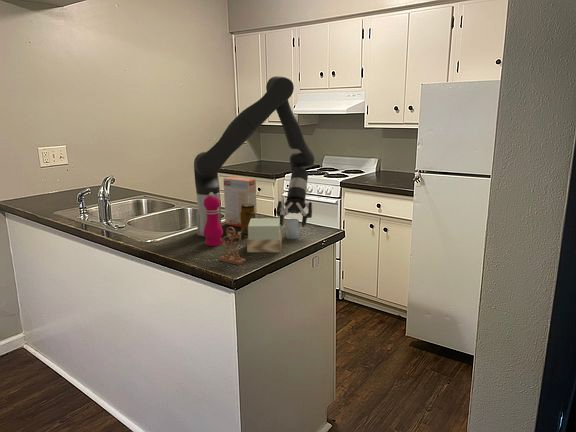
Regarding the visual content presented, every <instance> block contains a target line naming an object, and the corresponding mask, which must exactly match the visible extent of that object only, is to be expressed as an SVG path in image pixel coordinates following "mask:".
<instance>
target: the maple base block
mask: <svg viewBox="0 0 576 432" xmlns="http://www.w3.org/2000/svg"><path fill="white" fill-rule="evenodd" d="M282 244H283V230H280V236H279V240H248V237H246V251H247V252H246V253H281V252H282Z"/></svg>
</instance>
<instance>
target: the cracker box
mask: <svg viewBox="0 0 576 432" xmlns="http://www.w3.org/2000/svg"><path fill="white" fill-rule="evenodd" d="M256 183H257V181H256V179H255V178H245V177H237V176H229V177H224V178H223V198H224V221H225V223H224V224H225V225H229V226H232V227H233V226H234V227H238V228H241V211H242V210H241V206H242V205H243V204H253V205H254V211H255V216H256V218H258V214H257V210H258V209H257V184H256Z"/></svg>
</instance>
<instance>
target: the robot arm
mask: <svg viewBox="0 0 576 432" xmlns="http://www.w3.org/2000/svg"><path fill="white" fill-rule="evenodd" d="M294 86H295V85H294V83H293V81H292V79H290V78H288V77H287V76H281V75H279V76H278V75H277V76H272V77H271V78H269V79H268V81H267V82H266V86H265V87H266V92H265V93H264V94H263V95H262V96H261V98H259V99H258V100H257V101H256V102H254V103H253V104H251V105H250V106H248V107H246V108H245V109H243V111H241V112H240V113H239V114H237V115H236V117H235V118H234V119H233V120H232V121H231V122H230V123H229V124H228V126H227V127H226V129H225V131H223V133H222V135H221V136H220V138H219V139H218V141H217V142H216V143H215V144H214V145H213V146H211V147H210V149H208V150H207V151H205V152H204V151H203V152H200V153H198V154H197V155H196V156H195V158H194V161H193V173H194V183H195V192H196V205H197V208H196V209H197V211H196V213H195V214H196V229H197V230H196V231H197V236H200V237H205V236H204V228H205V225H206V222H207V214H206V213H205V212H206V211H205V210H206V208H205V207H204V200H205V198H207V197H209V193H210V192H212V193H213V194H214V196H215V197H217V198H218V199H219V201H220V202H221V195H220V194H221V192H220V191H221V190H220V183H219V177H218V172H219V171H220V170H221V168H222V167H223V166H224V164H225V163H226V162H227V161H228V159H229V158H230V157H231V156H232V154H234V153H235V152H236V151H237V150H238V149H239V148H241V146H243V144H245V143H246V142H247V141H248V139H250V138H251V137H252V136H253V135H254V133H255V132H257V130H259V128H260V127H261V126H262V125H263V124H264V123H265V122H266V120H267V119H268V118H269V117H270V116H272V114H273V113H274V112H275V111H276V113H277V116H278V117H279V121H280V123H281V126H282V129H283V132H284V135H285V139H286V141H287V144H288V147H289V148H290V149H292V150H298V151H296V152H293V153H292V154H291V155H290V157H289V164H290V171H291V175H290V181H289V184H288V191H287V196H286V201H285V202H282V201H281V200H279V201H278V203H277V207H276V211H275V214H276V217H277V218H280V227H283V226H284V223H285V222H284V221H285V217H287V215H289V214H296V215H297V214H298V215H299V213H300V215H301V216H302V218H301V219H302V220H301V226H302V228H304V227H305V226H306V225H307V221H308V220H307V219H309V218H310V219H311V218H312V217H313V203H312V202H311V201H309V202H307V203H306V196H307V193H308V192H307V191H308V189H307V188H308V180H309V179H308V177H309V171H308V170H307V169H306V168H309V167H313V165H314V164H315V155H314V153H313V151H312V149H311V148H310V147H309V145H308V144H307V142H306V140H305V138H304V134H303V131H302V128H301V125H300V123H299V121H298V120H297V118H296V117H297V116H296V115H295V114H294V112H293V110H292V107H291V105H290V101H289V100H290V98H291V97H292V95H293V93H294V91H295V90H294ZM283 208H284V209H283ZM305 208H307V210H308V212H306V211H305ZM218 209H219V213H218V220H219V222H220V225H221V226H222V214H221V213H222V212H221V205H220V206H219V207H218ZM282 209H283V210H282Z"/></svg>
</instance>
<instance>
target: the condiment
mask: <svg viewBox="0 0 576 432" xmlns="http://www.w3.org/2000/svg"><path fill="white" fill-rule="evenodd" d="M241 210H242V211H241V227H240V231H236V234H238V233H239V234H241V237H242V236H243V237H244V238H248V225H249V222H250V220H251V218H256V216H255V211H254V205H253V204H243V205H242V206H241Z"/></svg>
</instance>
